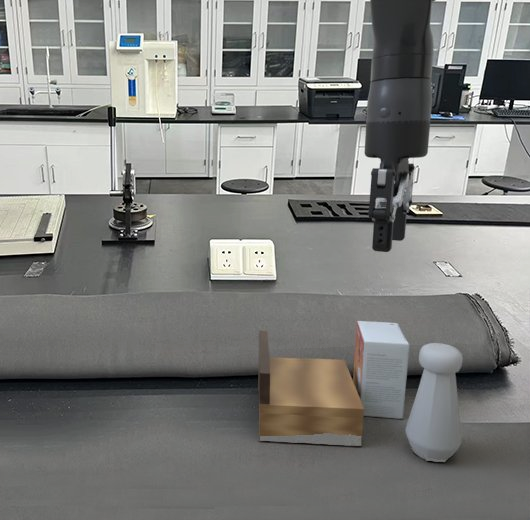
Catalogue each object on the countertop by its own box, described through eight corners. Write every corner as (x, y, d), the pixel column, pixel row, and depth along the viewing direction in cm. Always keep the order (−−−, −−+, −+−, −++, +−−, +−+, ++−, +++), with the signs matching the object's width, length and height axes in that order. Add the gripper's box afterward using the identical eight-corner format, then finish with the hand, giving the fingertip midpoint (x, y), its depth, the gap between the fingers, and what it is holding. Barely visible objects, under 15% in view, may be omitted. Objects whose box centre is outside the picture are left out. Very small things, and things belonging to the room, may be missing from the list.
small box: (352, 388, 77) (356, 319, 75) (393, 391, 76) (398, 321, 73) (358, 416, 69) (362, 340, 67) (403, 420, 68) (410, 343, 66)
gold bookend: (342, 392, 76) (345, 332, 74) (361, 447, 62) (366, 376, 60) (258, 388, 77) (258, 330, 75) (258, 442, 64) (259, 372, 62)
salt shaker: (466, 470, 58) (479, 359, 55) (410, 466, 59) (420, 356, 56) (450, 441, 63) (460, 338, 60) (399, 437, 64) (407, 336, 61)
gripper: (420, 116, 59) (409, 259, 63) (438, 118, 71) (428, 238, 74) (352, 118, 63) (345, 252, 66) (380, 120, 75) (373, 234, 78)
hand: (389, 245), depth 70 cm, fingers open, 8 cm apart
